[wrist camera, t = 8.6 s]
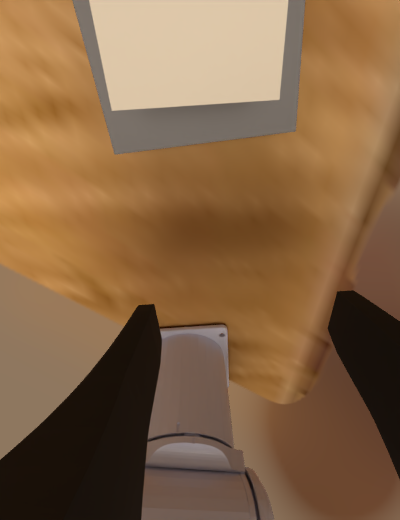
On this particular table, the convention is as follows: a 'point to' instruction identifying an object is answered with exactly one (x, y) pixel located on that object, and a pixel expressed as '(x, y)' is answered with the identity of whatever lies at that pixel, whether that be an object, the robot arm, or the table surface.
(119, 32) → the cream cube
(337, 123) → the table surface
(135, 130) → the charcoal base
